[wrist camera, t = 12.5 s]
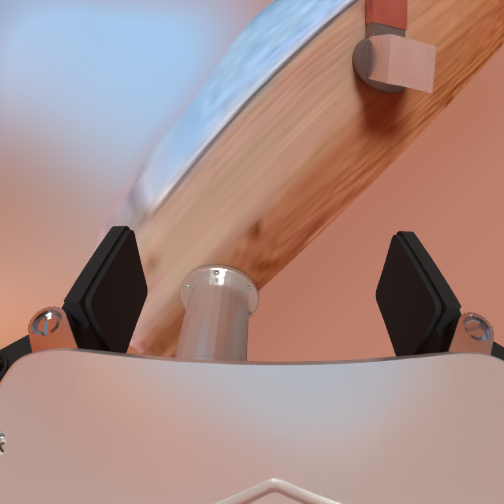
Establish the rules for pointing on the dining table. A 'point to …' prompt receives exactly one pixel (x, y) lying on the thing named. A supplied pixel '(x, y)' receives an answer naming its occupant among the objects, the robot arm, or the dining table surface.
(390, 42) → the brushed aluminum cube
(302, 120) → the dining table surface
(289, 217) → the dining table surface
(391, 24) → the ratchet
